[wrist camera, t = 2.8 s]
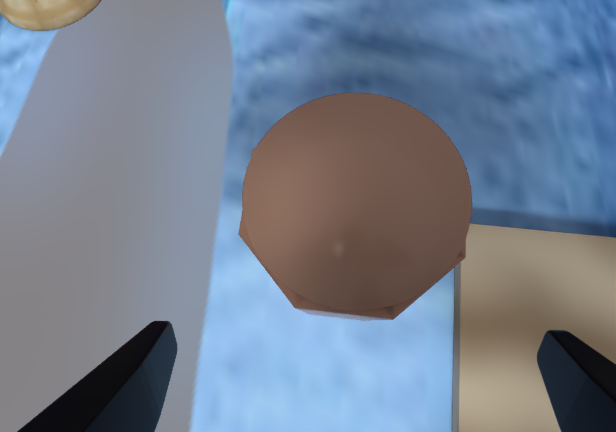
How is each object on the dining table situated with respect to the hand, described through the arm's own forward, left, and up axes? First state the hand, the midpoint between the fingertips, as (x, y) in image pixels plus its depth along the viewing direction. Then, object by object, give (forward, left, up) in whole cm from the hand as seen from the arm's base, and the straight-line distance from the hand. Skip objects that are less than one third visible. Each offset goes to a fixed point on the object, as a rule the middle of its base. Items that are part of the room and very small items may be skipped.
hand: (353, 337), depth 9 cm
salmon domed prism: (+4, 0, -11) cm, 12 cm away
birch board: (0, -11, -11) cm, 15 cm away
